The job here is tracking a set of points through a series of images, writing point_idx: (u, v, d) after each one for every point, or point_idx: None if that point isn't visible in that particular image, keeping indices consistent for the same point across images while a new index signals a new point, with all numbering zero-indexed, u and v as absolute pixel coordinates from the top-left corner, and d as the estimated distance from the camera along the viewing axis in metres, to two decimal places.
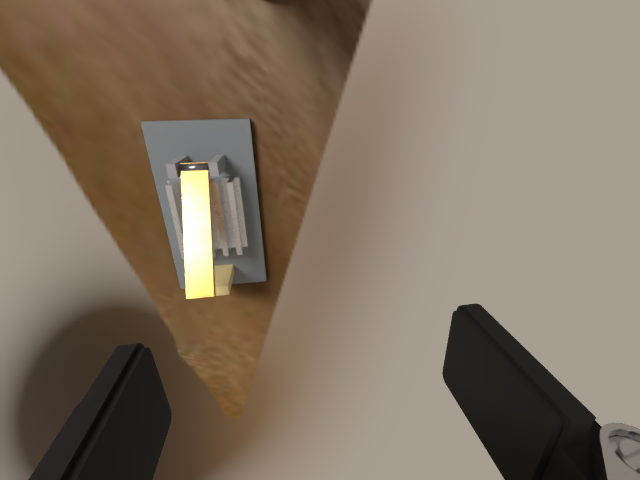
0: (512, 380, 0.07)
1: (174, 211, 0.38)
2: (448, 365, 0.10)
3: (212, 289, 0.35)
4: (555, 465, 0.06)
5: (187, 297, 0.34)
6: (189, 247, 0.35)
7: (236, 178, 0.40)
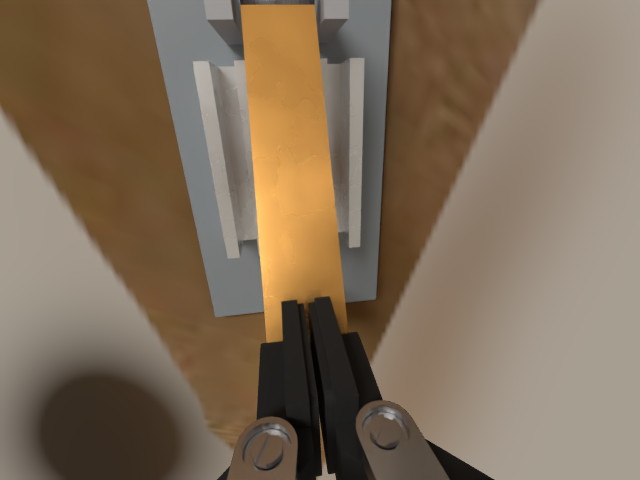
0: (318, 364, 0.08)
1: (214, 138, 0.15)
2: (311, 354, 0.11)
3: None
4: (336, 440, 0.07)
5: None
6: (273, 221, 0.12)
7: None
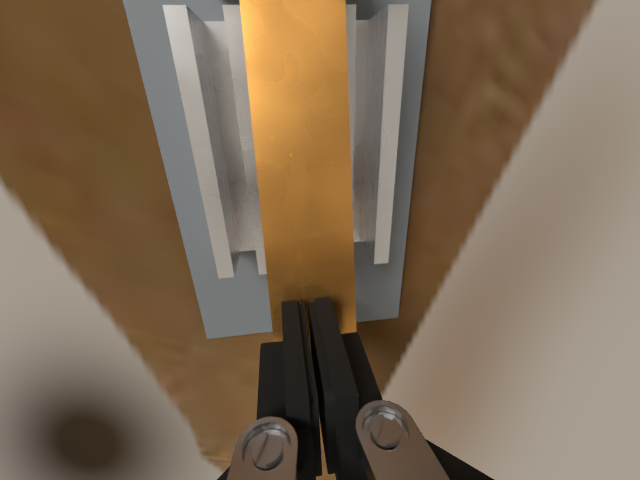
0: (318, 363, 0.08)
1: (197, 119, 0.11)
2: (311, 354, 0.11)
3: None
4: (336, 439, 0.07)
5: None
6: (281, 242, 0.10)
7: None
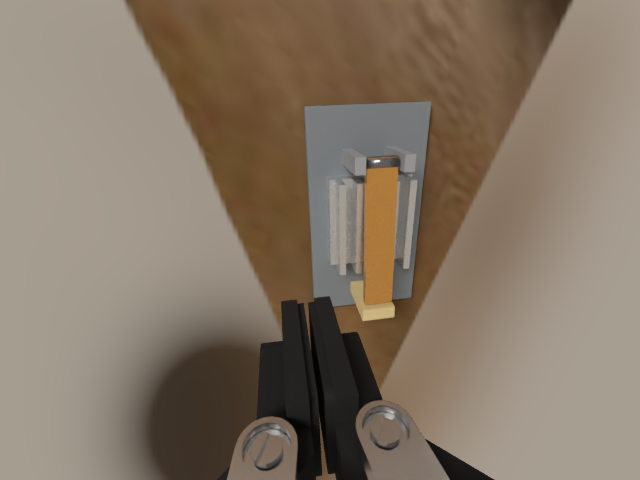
0: (318, 364, 0.08)
1: (343, 217, 0.31)
2: (311, 354, 0.11)
3: (391, 296, 0.33)
4: (336, 439, 0.07)
5: (366, 303, 0.33)
6: (371, 256, 0.31)
7: (409, 175, 0.33)
